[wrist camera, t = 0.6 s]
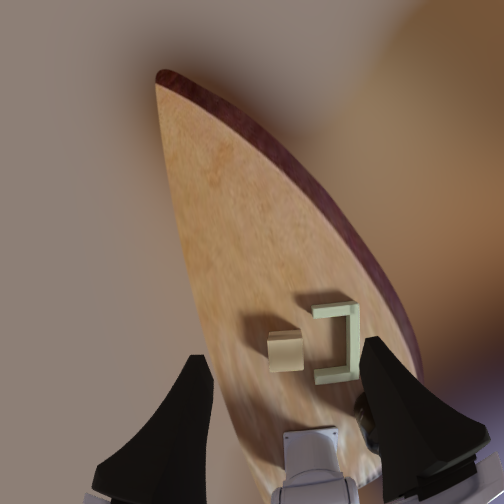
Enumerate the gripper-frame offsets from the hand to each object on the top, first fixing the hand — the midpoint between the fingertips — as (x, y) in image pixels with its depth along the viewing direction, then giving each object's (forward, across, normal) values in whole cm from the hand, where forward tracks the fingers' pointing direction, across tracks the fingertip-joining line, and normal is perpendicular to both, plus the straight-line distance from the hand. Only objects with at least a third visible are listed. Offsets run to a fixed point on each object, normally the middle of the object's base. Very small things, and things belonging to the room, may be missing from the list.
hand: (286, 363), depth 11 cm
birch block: (+16, -1, +17) cm, 24 cm away
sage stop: (+16, -7, +17) cm, 24 cm away
